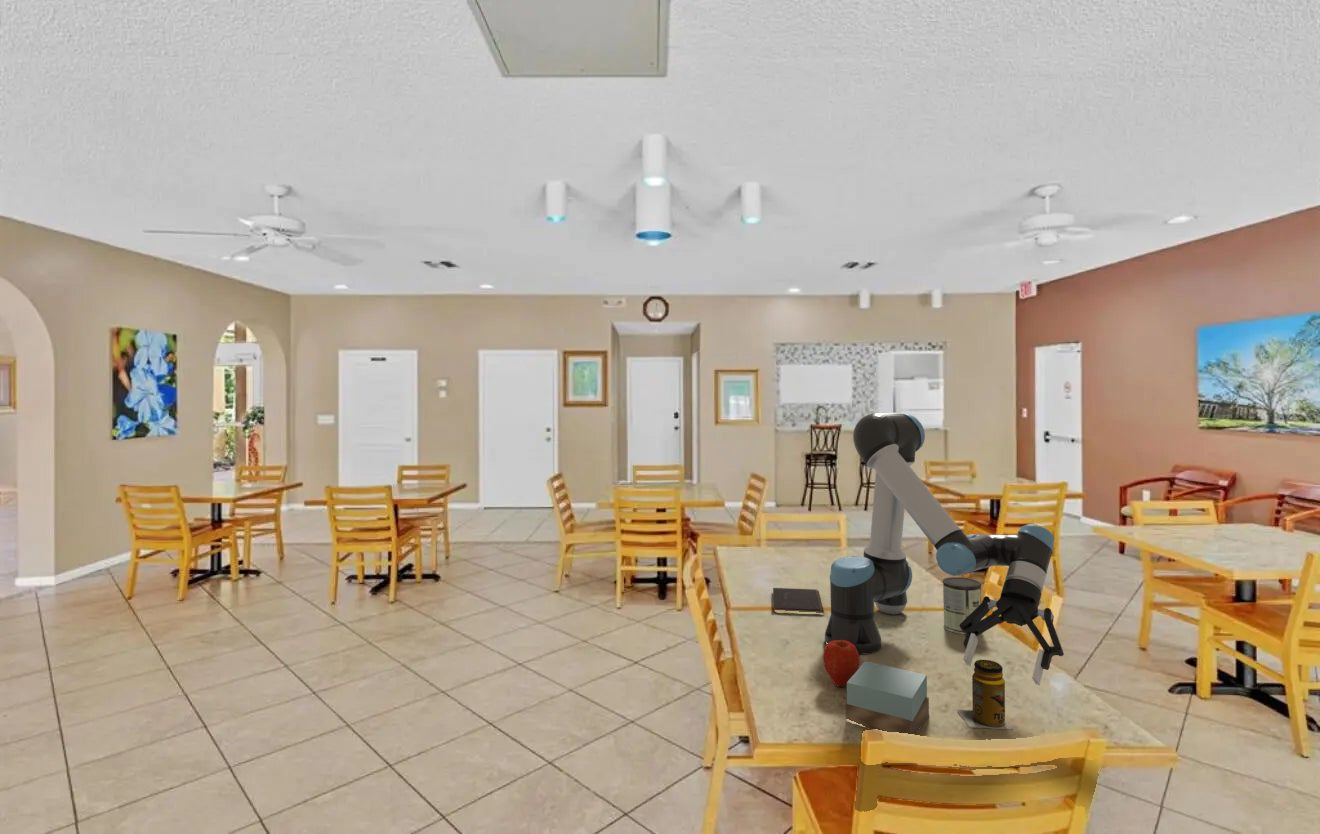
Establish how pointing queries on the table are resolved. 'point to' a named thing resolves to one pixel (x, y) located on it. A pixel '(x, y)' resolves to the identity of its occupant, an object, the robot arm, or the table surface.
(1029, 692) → the table surface
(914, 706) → the tower top
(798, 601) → the hardcover book
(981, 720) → the condiment
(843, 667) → the apple
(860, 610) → the robot arm
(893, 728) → the tower base
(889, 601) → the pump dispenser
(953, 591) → the coffee can
